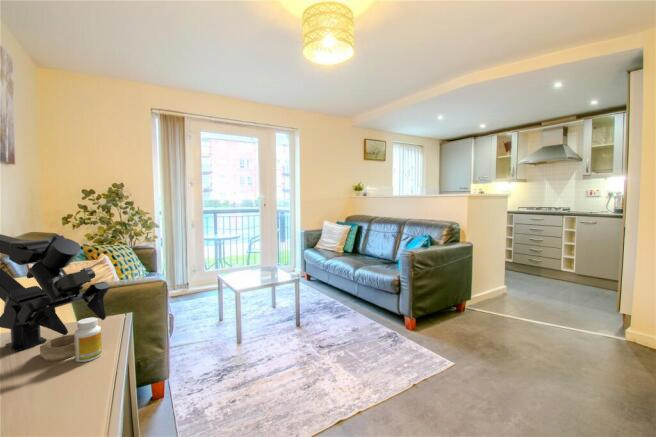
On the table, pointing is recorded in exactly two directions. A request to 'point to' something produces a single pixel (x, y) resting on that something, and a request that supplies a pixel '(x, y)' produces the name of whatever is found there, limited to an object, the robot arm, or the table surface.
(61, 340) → the can holder
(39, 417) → the table surface
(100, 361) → the table surface
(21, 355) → the table surface
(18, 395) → the table surface
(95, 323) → the supplement bottle
